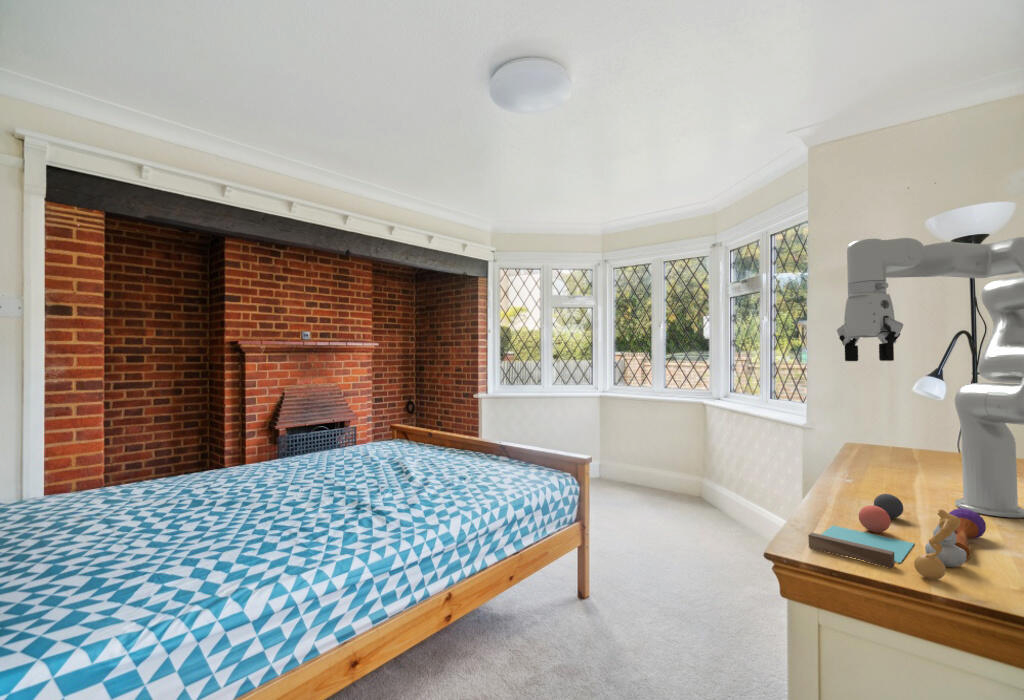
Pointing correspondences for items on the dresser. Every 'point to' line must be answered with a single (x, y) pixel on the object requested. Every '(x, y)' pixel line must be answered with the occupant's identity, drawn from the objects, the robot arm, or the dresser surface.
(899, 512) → the dark gray ball
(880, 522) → the red ball
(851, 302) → the robot arm
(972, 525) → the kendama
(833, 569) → the dresser surface
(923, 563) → the figurine
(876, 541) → the teal mark
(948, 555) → the gray statuette
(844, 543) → the walnut rail
